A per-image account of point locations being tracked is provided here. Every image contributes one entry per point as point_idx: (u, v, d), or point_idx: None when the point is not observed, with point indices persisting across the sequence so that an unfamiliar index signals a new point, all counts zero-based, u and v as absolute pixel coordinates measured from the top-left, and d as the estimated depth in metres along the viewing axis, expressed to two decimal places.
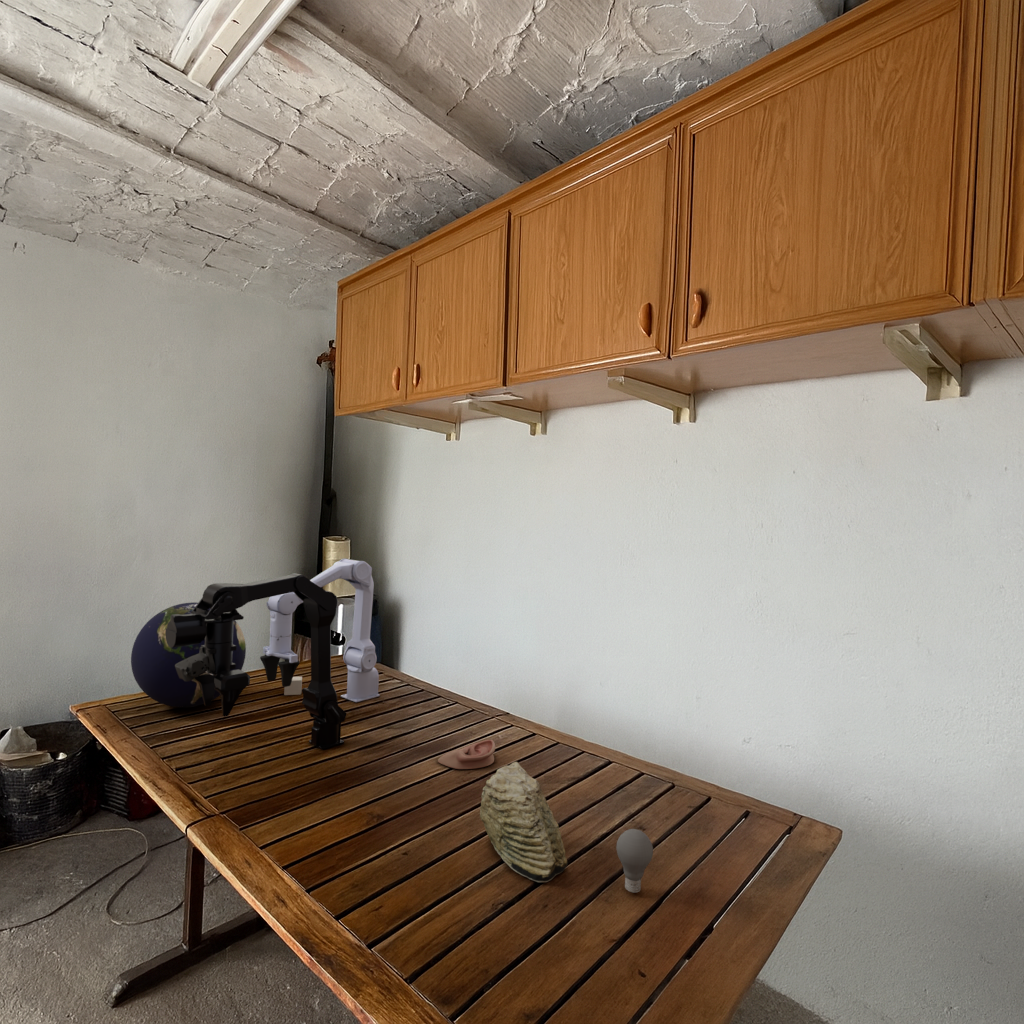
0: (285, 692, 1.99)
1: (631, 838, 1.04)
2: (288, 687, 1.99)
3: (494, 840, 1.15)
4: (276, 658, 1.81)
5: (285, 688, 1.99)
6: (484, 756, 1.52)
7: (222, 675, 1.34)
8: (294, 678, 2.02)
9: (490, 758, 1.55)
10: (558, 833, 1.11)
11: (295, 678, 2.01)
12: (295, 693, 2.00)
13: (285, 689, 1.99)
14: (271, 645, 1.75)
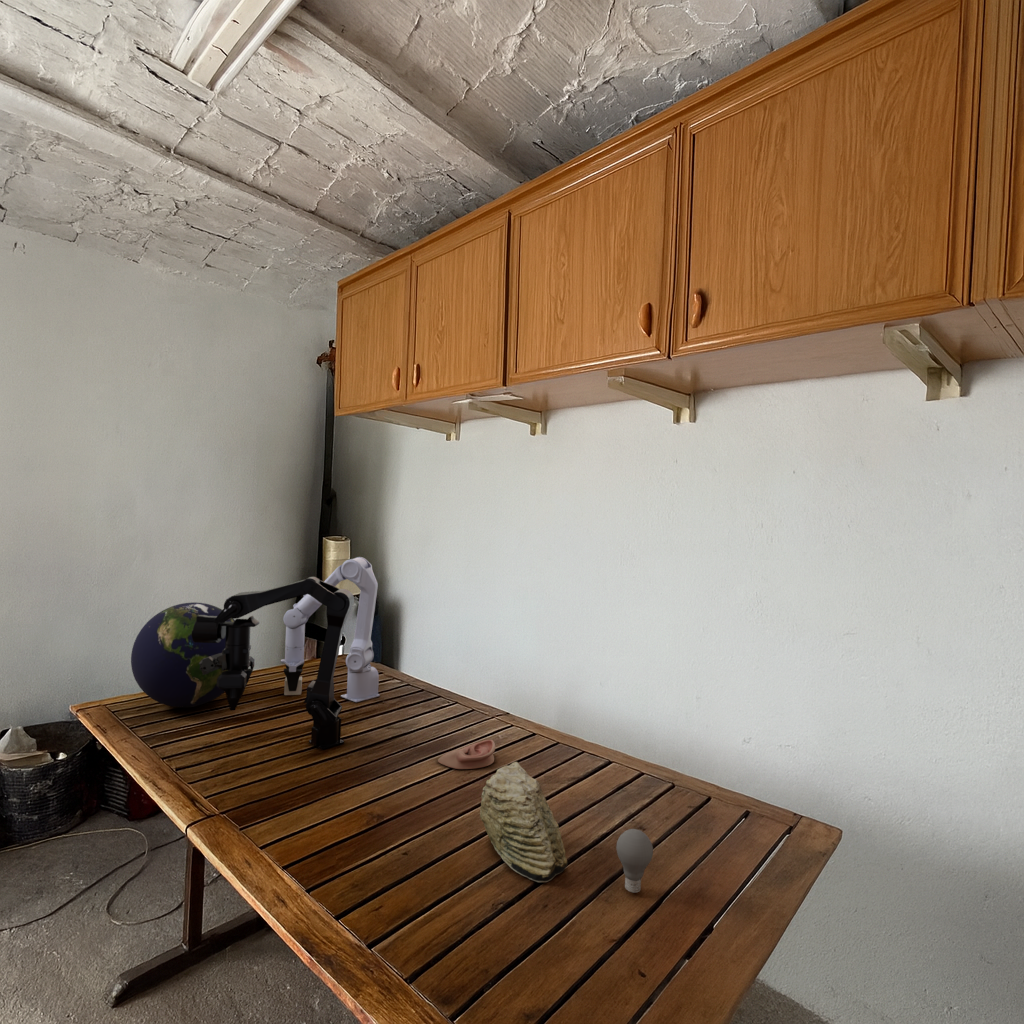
0: (285, 692, 1.99)
1: (631, 838, 1.04)
2: (288, 688, 1.99)
3: (494, 840, 1.15)
4: (298, 667, 2.04)
5: (285, 688, 1.99)
6: (484, 756, 1.52)
7: (221, 673, 1.52)
8: None
9: (490, 758, 1.55)
10: (558, 833, 1.11)
11: None
12: (295, 693, 2.00)
13: (285, 689, 1.99)
14: (285, 654, 2.01)
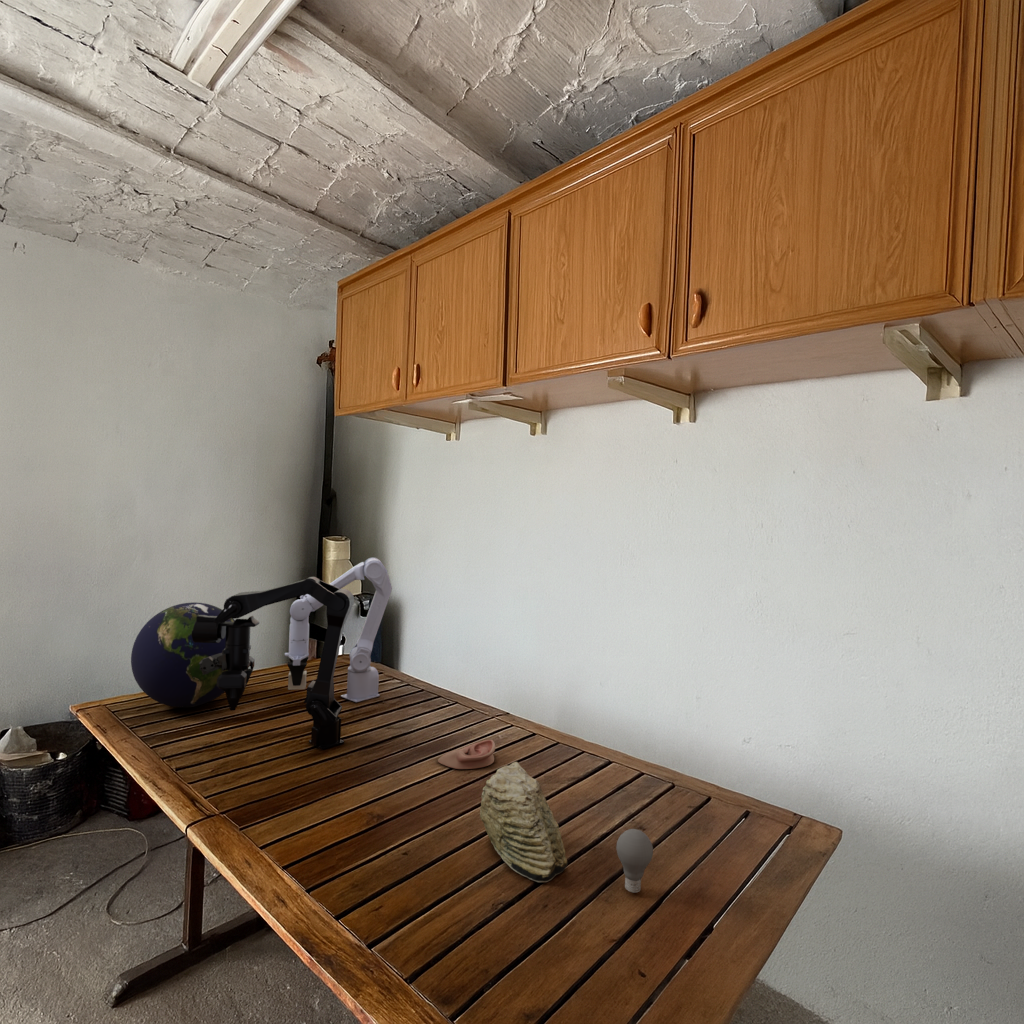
0: (289, 687, 1.92)
1: (631, 838, 1.04)
2: None
3: (494, 840, 1.15)
4: (302, 661, 1.97)
5: (289, 682, 1.92)
6: (484, 756, 1.52)
7: (221, 673, 1.52)
8: None
9: (490, 758, 1.55)
10: (558, 833, 1.11)
11: None
12: (299, 688, 1.93)
13: (289, 683, 1.92)
14: (289, 647, 1.94)
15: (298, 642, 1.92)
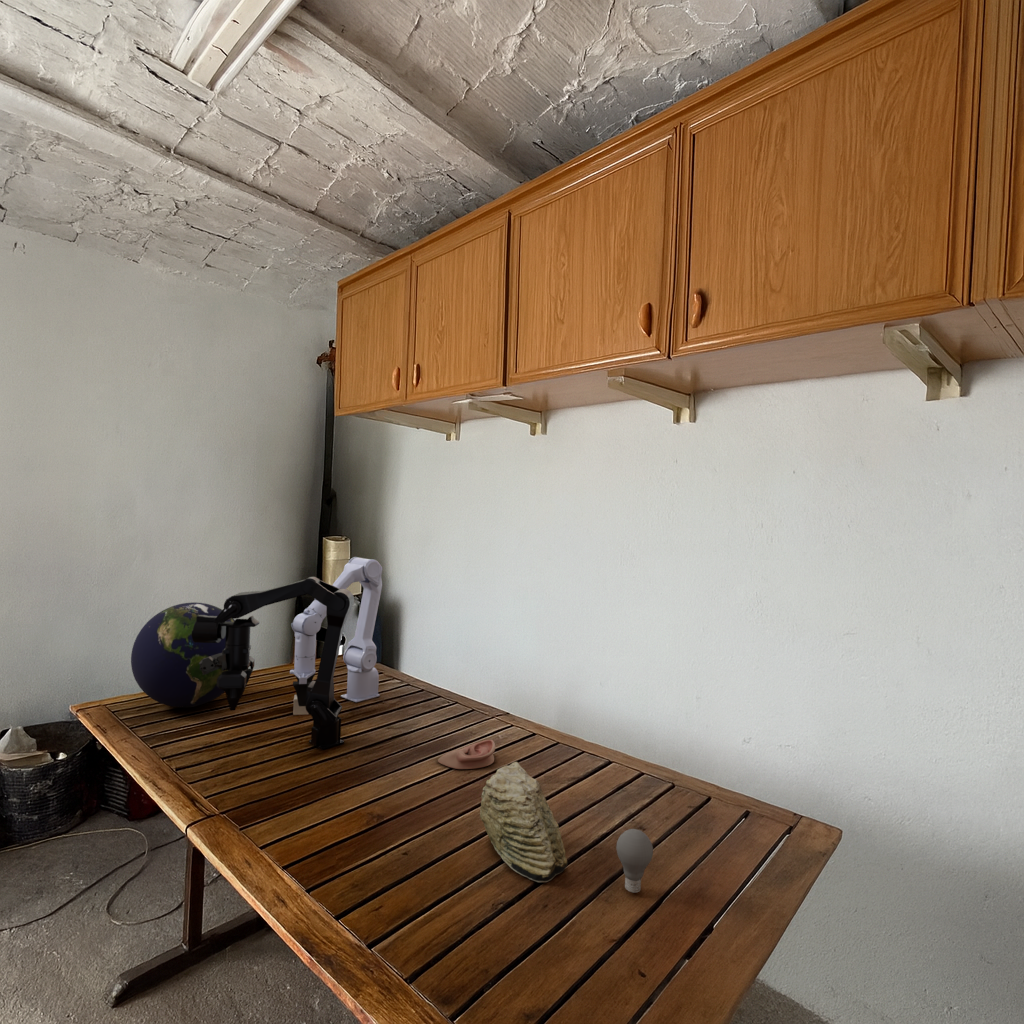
0: (294, 712, 1.82)
1: (631, 838, 1.04)
2: (298, 707, 1.82)
3: (494, 840, 1.15)
4: (309, 677, 1.88)
5: (294, 707, 1.82)
6: (484, 756, 1.52)
7: (221, 673, 1.52)
8: None
9: (490, 758, 1.55)
10: (558, 833, 1.11)
11: None
12: (305, 713, 1.83)
13: (294, 708, 1.82)
14: (294, 664, 1.83)
15: (304, 659, 1.81)
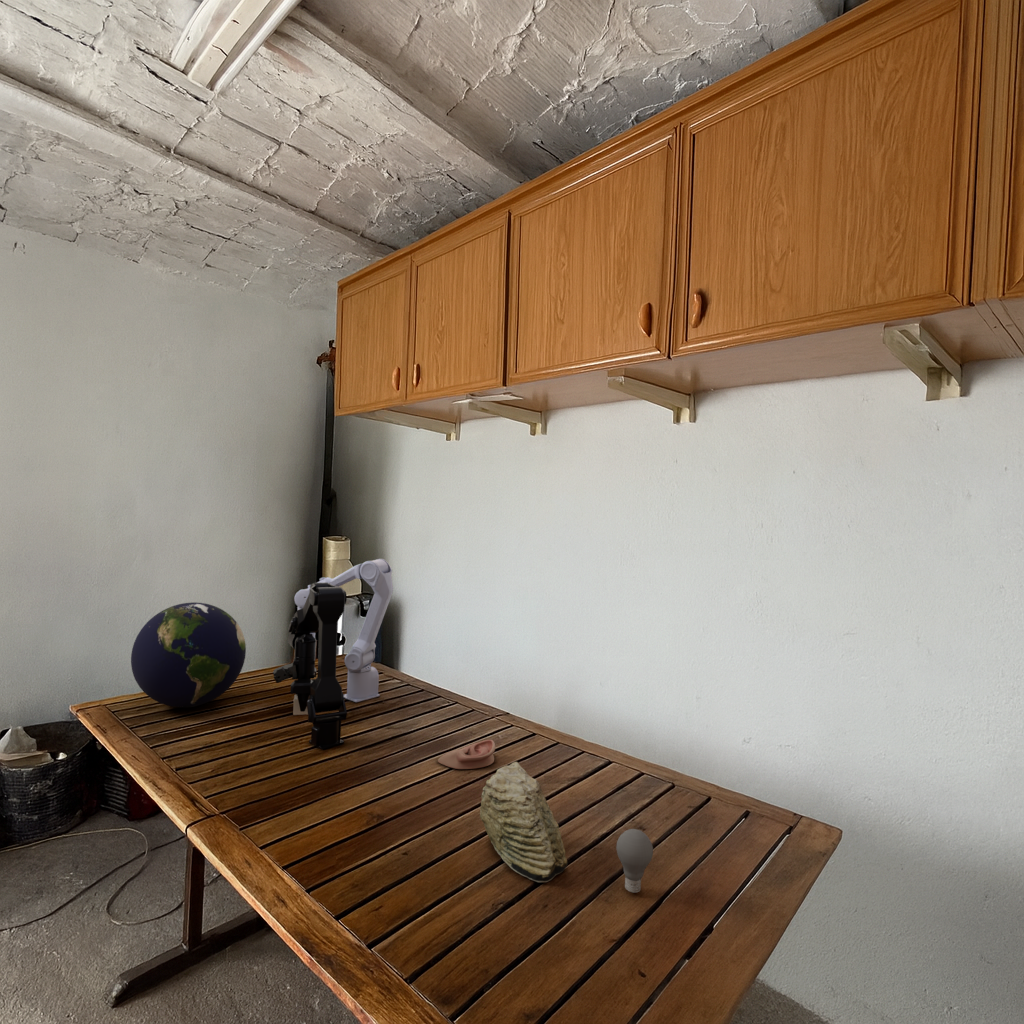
0: (294, 712, 1.82)
1: (631, 838, 1.04)
2: (298, 707, 1.82)
3: (494, 840, 1.15)
4: None
5: (294, 707, 1.82)
6: (484, 756, 1.52)
7: (294, 682, 1.76)
8: None
9: (490, 758, 1.55)
10: (558, 833, 1.11)
11: None
12: (305, 713, 1.83)
13: (294, 708, 1.82)
14: None
15: None
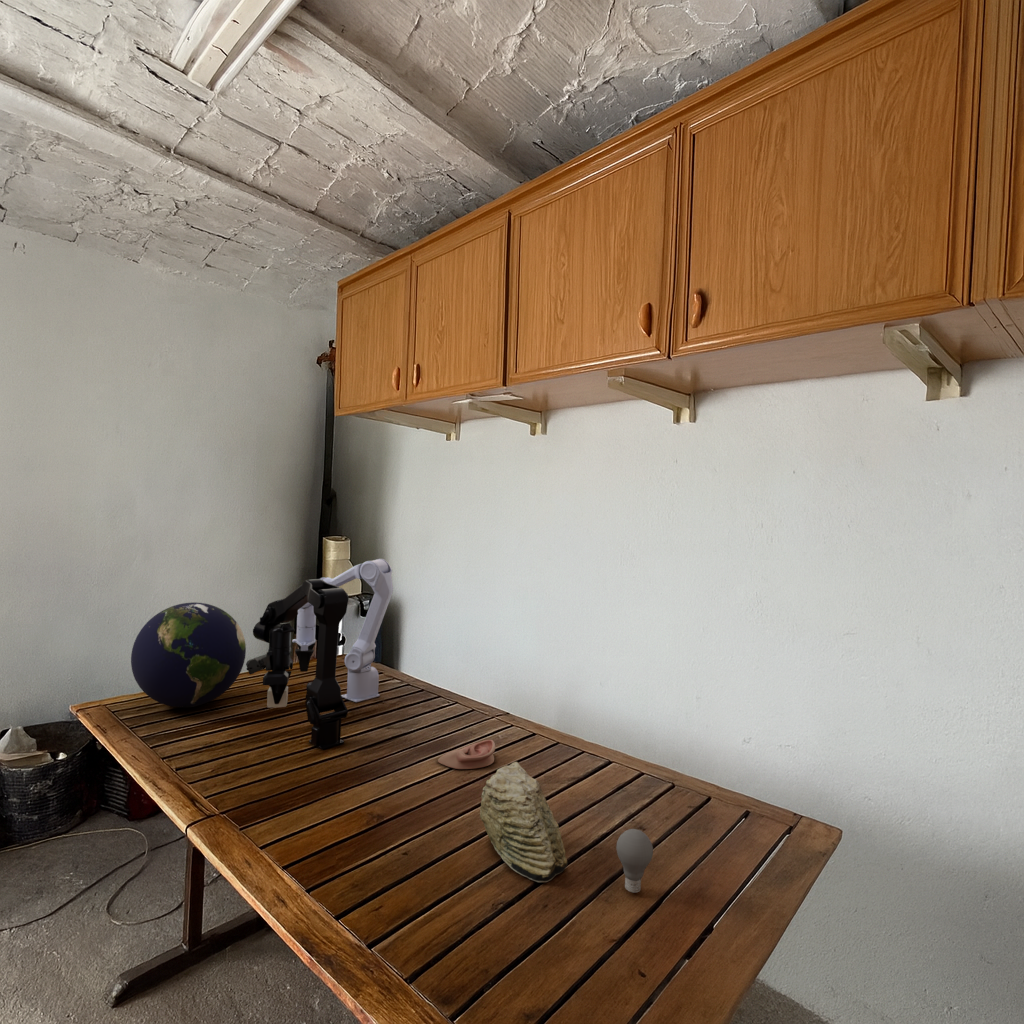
0: (268, 704, 1.76)
1: (631, 838, 1.04)
2: (272, 699, 1.76)
3: (494, 840, 1.15)
4: (309, 646, 2.07)
5: (268, 700, 1.76)
6: (484, 756, 1.52)
7: (267, 673, 1.71)
8: None
9: (490, 758, 1.55)
10: (558, 833, 1.11)
11: None
12: (279, 705, 1.77)
13: (268, 701, 1.76)
14: None
15: (305, 629, 2.01)
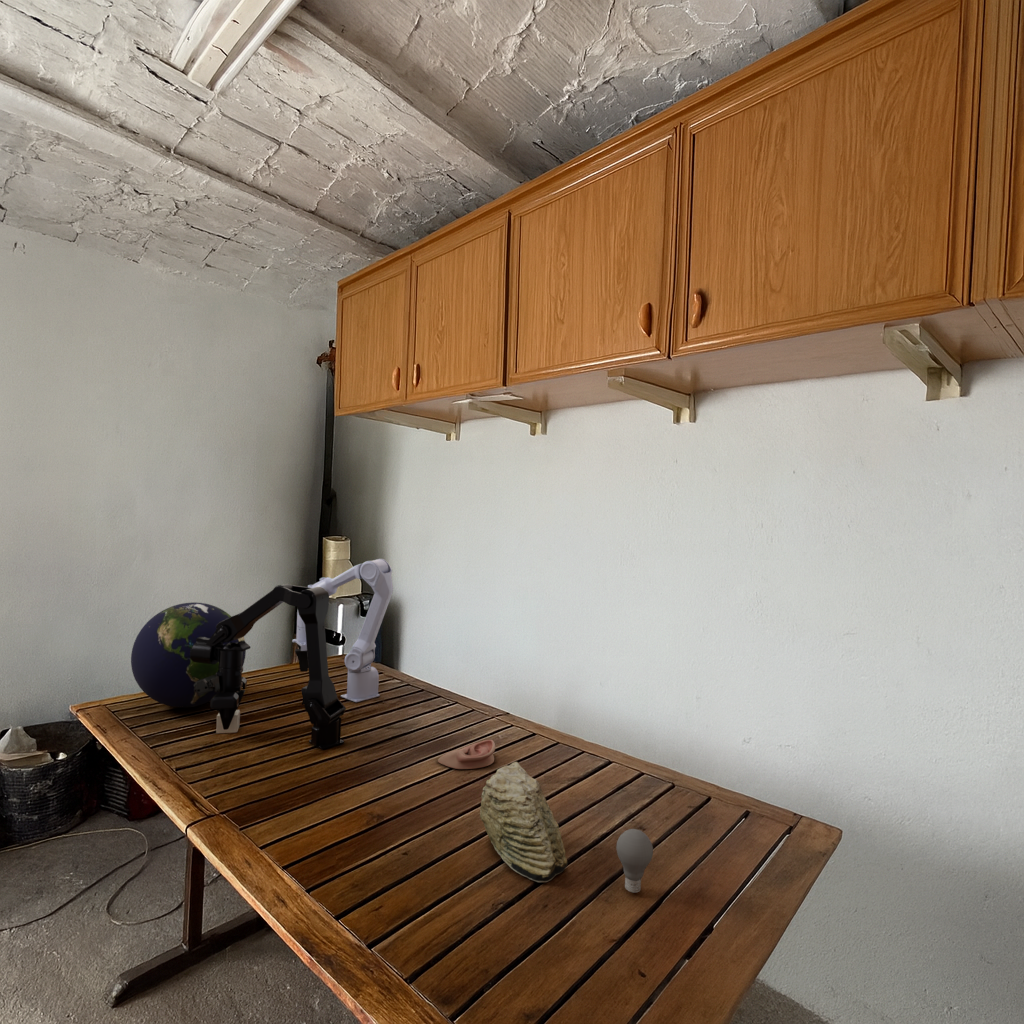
0: (217, 730, 1.66)
1: (631, 838, 1.04)
2: None
3: (494, 840, 1.15)
4: None
5: (217, 725, 1.66)
6: (484, 756, 1.52)
7: (215, 696, 1.60)
8: None
9: (490, 758, 1.55)
10: (558, 833, 1.11)
11: None
12: (230, 731, 1.67)
13: (217, 726, 1.66)
14: None
15: None
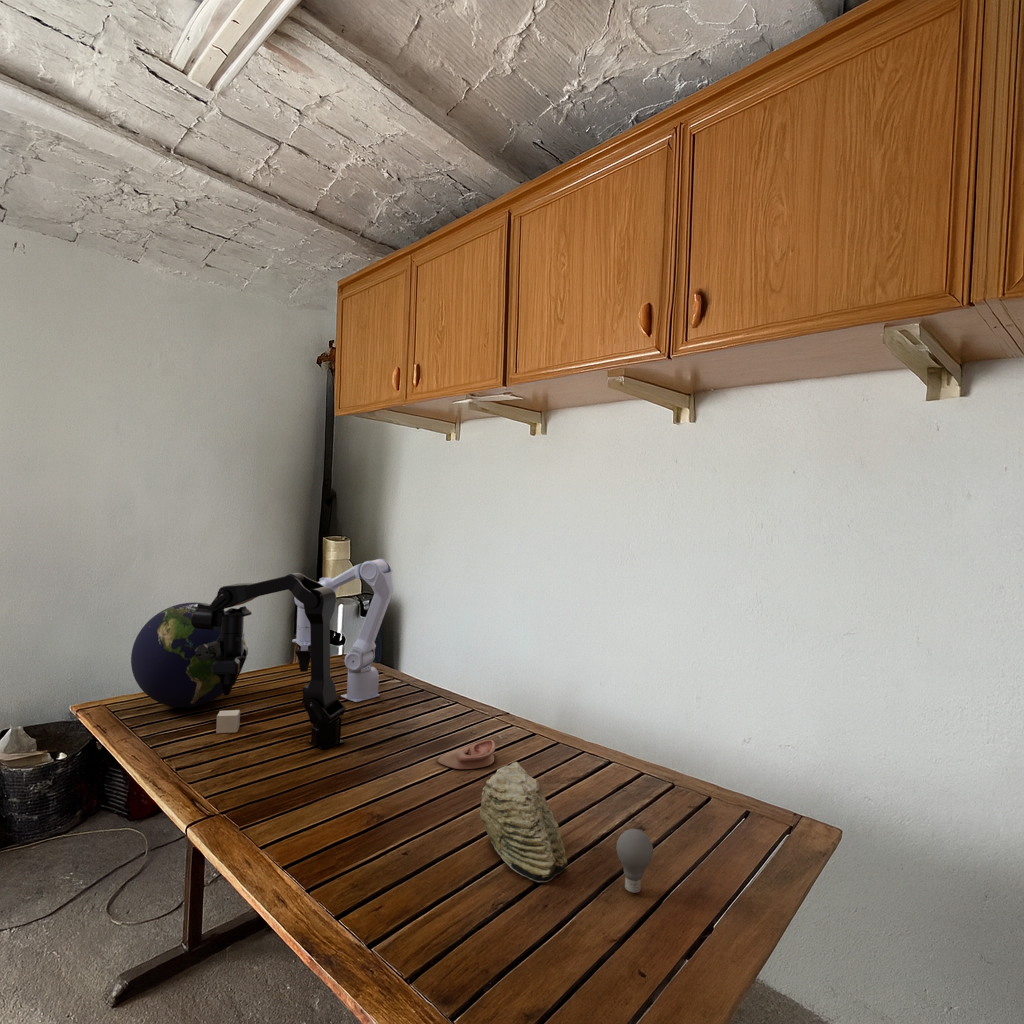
0: (217, 730, 1.66)
1: (631, 838, 1.04)
2: (222, 724, 1.66)
3: (494, 840, 1.15)
4: (309, 646, 2.07)
5: (217, 725, 1.66)
6: (484, 756, 1.52)
7: (216, 660, 1.60)
8: (229, 712, 1.68)
9: (490, 758, 1.55)
10: (558, 833, 1.11)
11: (231, 713, 1.68)
12: (230, 731, 1.67)
13: (217, 726, 1.66)
14: None
15: (305, 629, 2.01)
